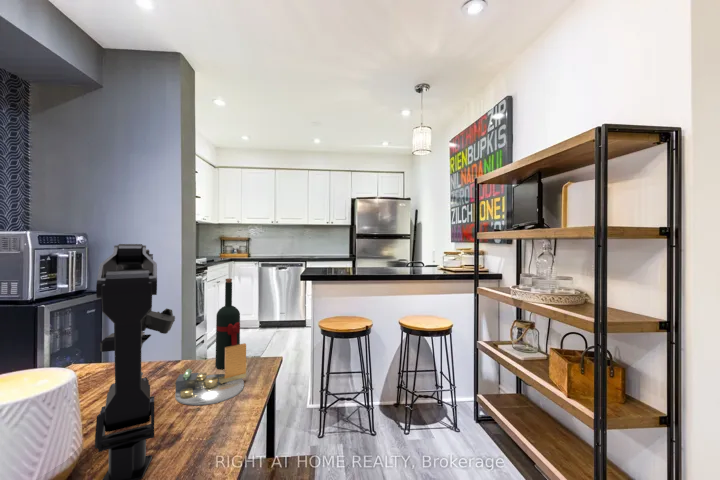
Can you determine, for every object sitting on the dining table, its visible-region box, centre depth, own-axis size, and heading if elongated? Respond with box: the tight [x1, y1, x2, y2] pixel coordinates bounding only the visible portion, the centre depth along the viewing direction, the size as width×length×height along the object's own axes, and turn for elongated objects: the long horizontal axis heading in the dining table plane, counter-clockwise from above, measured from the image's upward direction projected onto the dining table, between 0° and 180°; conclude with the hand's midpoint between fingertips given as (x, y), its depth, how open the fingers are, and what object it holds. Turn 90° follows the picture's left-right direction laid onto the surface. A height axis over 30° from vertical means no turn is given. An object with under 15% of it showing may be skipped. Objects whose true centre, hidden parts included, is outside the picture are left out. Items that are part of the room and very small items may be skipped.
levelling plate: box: [174, 368, 245, 407], centre depth 95 cm, size 18×18×6 cm
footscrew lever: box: [204, 342, 247, 388], centre depth 98 cm, size 12×4×10 cm, turn 130°
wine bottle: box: [214, 278, 241, 370], centre depth 114 cm, size 8×10×30 cm
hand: (132, 369), depth 77 cm, fingers closed
